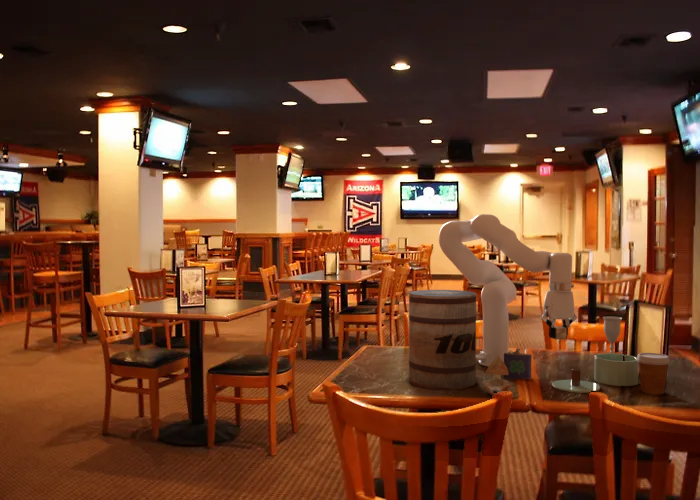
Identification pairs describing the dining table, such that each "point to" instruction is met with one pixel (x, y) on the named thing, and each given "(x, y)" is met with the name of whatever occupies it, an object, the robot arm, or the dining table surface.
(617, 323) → the chalice
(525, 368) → the flask
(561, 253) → the robot arm
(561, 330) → the block
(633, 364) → the canister
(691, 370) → the dining table surface
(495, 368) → the oil lamp
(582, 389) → the lid
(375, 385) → the dining table surface
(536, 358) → the dining table surface
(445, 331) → the barrel
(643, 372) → the disposable coffee cup
